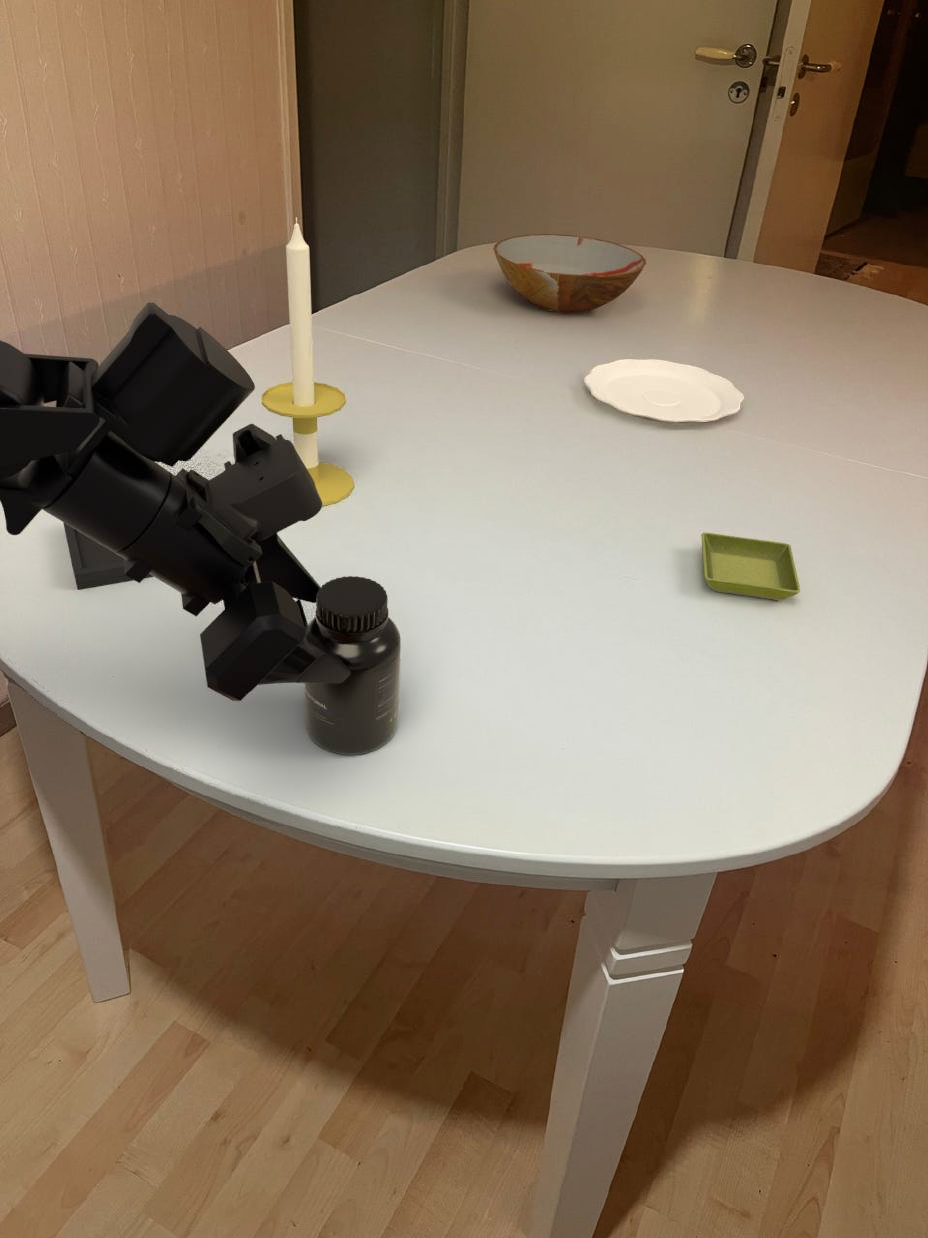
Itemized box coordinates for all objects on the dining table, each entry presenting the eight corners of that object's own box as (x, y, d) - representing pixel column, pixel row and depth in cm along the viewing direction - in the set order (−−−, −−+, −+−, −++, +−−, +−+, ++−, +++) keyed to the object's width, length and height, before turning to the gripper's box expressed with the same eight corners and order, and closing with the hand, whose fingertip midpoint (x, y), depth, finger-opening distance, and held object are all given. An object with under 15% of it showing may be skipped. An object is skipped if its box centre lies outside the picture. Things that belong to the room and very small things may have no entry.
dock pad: (77, 589, 81) (74, 574, 80) (65, 530, 88) (61, 516, 88) (200, 568, 85) (198, 553, 84) (178, 513, 92) (176, 499, 91)
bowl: (475, 314, 148) (479, 263, 143) (504, 273, 168) (508, 226, 163) (632, 336, 144) (641, 284, 140) (642, 291, 164) (651, 244, 160)
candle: (316, 455, 105) (308, 199, 89) (373, 488, 99) (375, 222, 83) (241, 480, 99) (217, 211, 83) (297, 517, 93) (283, 237, 77)
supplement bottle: (290, 745, 67) (281, 610, 60) (328, 687, 72) (324, 558, 65) (378, 768, 66) (380, 633, 59) (411, 708, 71) (416, 578, 64)
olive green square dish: (795, 610, 85) (801, 592, 84) (699, 597, 86) (704, 578, 85) (784, 561, 92) (790, 543, 91) (696, 549, 93) (701, 531, 92)
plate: (551, 388, 125) (553, 376, 124) (655, 360, 136) (657, 349, 135) (668, 446, 112) (671, 433, 111) (771, 410, 124) (775, 398, 123)
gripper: (251, 489, 45) (455, 637, 55) (214, 353, 59) (382, 489, 69) (108, 640, 48) (327, 757, 57) (105, 474, 62) (282, 590, 71)
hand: (332, 635), depth 63 cm, fingers open, 9 cm apart
